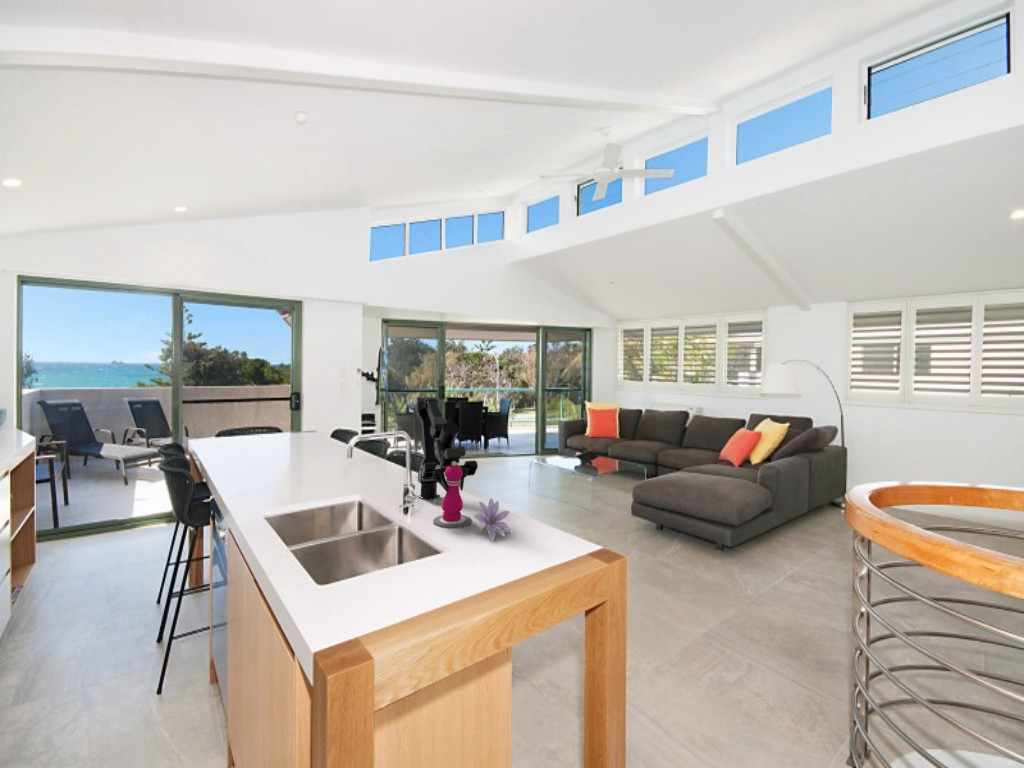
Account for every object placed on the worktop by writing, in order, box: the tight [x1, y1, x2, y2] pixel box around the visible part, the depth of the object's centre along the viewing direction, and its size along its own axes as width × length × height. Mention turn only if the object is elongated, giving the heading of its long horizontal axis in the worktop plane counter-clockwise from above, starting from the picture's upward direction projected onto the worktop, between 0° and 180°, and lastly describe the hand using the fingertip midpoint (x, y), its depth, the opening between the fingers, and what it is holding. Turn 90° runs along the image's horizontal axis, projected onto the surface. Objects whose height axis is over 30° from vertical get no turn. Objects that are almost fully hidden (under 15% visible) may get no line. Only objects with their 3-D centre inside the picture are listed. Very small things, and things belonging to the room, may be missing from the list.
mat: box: [432, 514, 473, 529], centre depth 169 cm, size 13×13×1 cm
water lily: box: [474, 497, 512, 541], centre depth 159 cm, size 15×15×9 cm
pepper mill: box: [441, 461, 464, 522], centre depth 169 cm, size 7×7×20 cm
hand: (454, 490), depth 167 cm, fingers closed on pepper mill, 5 cm apart
